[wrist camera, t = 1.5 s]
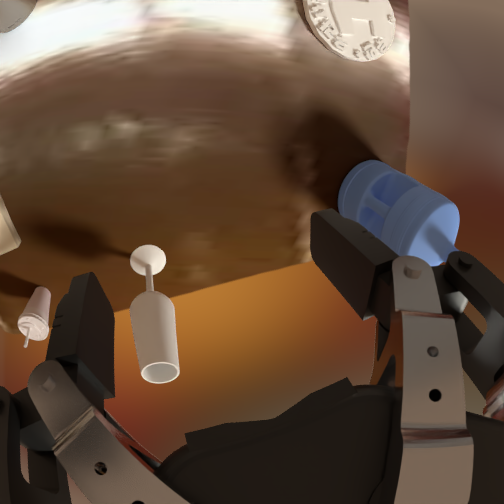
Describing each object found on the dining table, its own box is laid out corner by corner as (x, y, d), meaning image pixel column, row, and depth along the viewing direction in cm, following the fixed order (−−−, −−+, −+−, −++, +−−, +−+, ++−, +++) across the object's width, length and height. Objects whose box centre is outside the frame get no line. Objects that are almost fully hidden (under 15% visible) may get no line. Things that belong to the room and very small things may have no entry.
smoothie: (34, 275, 42) (15, 329, 31) (61, 291, 46) (48, 346, 35) (25, 296, 43) (9, 348, 32) (50, 310, 47) (39, 364, 36)
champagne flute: (150, 281, 52) (165, 391, 33) (122, 263, 48) (122, 376, 29) (173, 258, 51) (198, 368, 32) (145, 237, 47) (154, 349, 28)
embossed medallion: (379, 74, 43) (389, 76, 41) (292, 42, 36) (300, 40, 34) (391, -4, 33) (401, -5, 31) (309, -46, 26) (318, -51, 24)
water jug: (399, 172, 58) (496, 233, 36) (371, 230, 64) (453, 304, 43) (355, 147, 51) (473, 211, 29) (323, 216, 57) (417, 306, 36)
